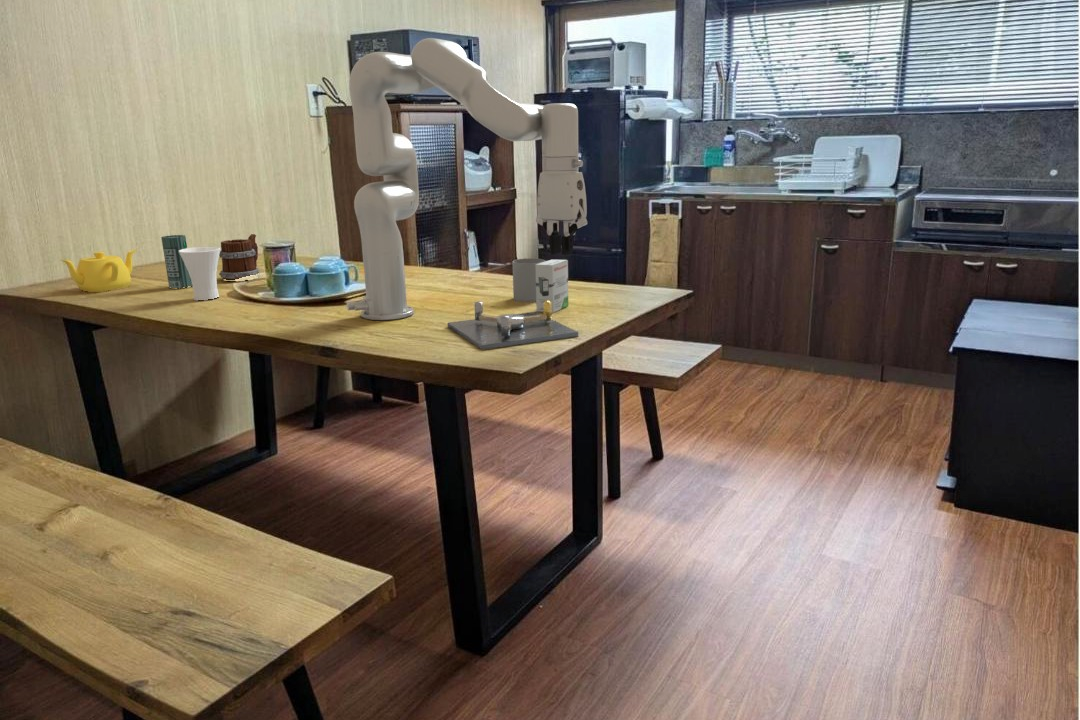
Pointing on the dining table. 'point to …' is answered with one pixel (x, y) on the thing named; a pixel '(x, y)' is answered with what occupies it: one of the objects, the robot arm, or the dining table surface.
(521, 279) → the cup
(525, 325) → the stand plate
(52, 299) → the dining table surface
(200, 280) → the cup
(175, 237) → the teal patterned carton
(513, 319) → the capstan
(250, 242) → the mug
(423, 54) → the robot arm
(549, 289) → the ink box
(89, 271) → the teapot
